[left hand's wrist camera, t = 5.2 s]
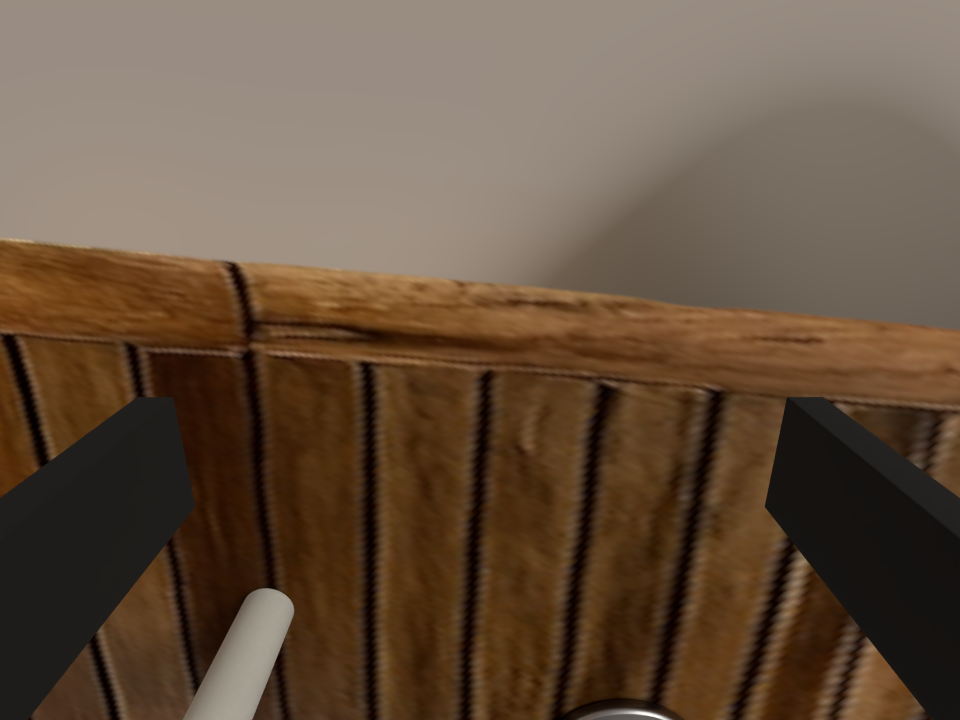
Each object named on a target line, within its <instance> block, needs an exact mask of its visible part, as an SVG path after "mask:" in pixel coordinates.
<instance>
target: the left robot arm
mask: <svg viewBox="0 0 960 720" xmlns="http://www.w3.org/2000/svg"><path fill="white" fill-rule="evenodd" d="M194 508H195V503H194V498H193V493H192V489H191V484H190V479H189V474H188V469H187V464H186V459H185V454H184V449H183V444H182V440H181V435H180V430H179V425H178V420H177V415H176V410H175V405H174V400H173V397H137V398H136V399H134V400H133V401H131V402H130V403H129V404H127V405H126V406H125V407H123V408H122V409H121V410H119V411H118V412H117V413H115V414H114V415H112V416H111V417H110V418H108V419H107V420H106V421H104V422H103V423H102V424H100V425H99V426H98V427H96V428H95V429H93V430H92V431H91V432H89V433H88V434H87V435H85V436H84V437H83V438H81V439H80V440H78V441H77V442H76V443H74V444H73V445H72V446H70V447H69V448H68V449H66V450H65V451H64V452H62V453H61V454H59V455H58V456H57V457H55V458H54V459H53V460H51V461H50V462H49V463H47V464H46V465H45V466H43V467H42V468H40V469H39V470H38V471H36V472H35V473H34V474H32V475H31V476H30V477H28V478H27V479H26V480H24V481H23V482H21V483H20V484H19V485H17V486H16V487H15V488H13V489H12V490H11V491H9V492H8V493H6V494H5V495H4V496H2V497H1V498H0V720H28V719H29V717H30V716H31V715H32V713H33V712H34V711H35V710H36V708H37V707H38V706H39V705H40V703H41V702H42V701H43V699H44V698H45V697H46V696H47V694H48V693H49V692H50V691H51V689H52V688H53V687H54V686H55V684H56V683H57V682H58V680H59V679H60V678H61V677H62V675H63V674H64V673H65V672H66V670H67V669H68V668H69V666H70V665H71V664H72V663H73V661H74V660H75V659H76V658H77V656H78V655H79V654H80V652H81V651H82V650H83V649H84V647H85V646H86V645H87V644H88V642H89V641H90V640H91V639H92V637H93V636H94V635H95V633H96V632H97V631H98V630H99V628H100V627H101V626H102V625H103V623H104V622H105V621H106V619H107V618H108V617H109V616H110V614H111V613H112V612H113V611H114V609H115V608H116V607H117V605H118V604H119V603H120V602H121V600H122V599H123V598H124V597H125V595H126V594H127V593H128V592H129V590H130V589H131V588H132V586H133V585H134V584H135V583H136V581H137V580H138V579H139V578H140V576H141V575H142V574H143V572H144V571H145V570H146V569H147V567H148V566H149V565H150V564H151V562H152V561H153V560H154V558H155V557H156V556H157V555H158V553H159V552H160V551H161V550H162V548H163V547H164V546H165V544H166V543H167V542H168V541H169V539H170V538H171V537H172V536H173V534H174V533H175V532H176V531H177V529H178V528H179V527H180V525H181V524H182V523H183V522H184V520H185V519H186V518H187V517H188V515H189V514H190V513H191V511H192V510H193V509H194ZM765 508H766V509H767V510H768V511H769V513H770V514H771V515H772V517H773V518H774V519H775V520H776V522H777V523H778V524H779V525H780V527H781V528H782V529H783V531H784V532H785V533H786V534H787V536H788V537H789V538H790V539H791V541H792V542H793V543H794V544H795V546H796V547H797V548H798V550H799V551H800V552H801V553H802V555H803V556H804V557H805V558H806V560H807V561H808V562H809V564H810V565H811V566H812V567H813V569H814V570H815V571H816V572H817V574H818V575H819V576H820V578H821V579H822V580H823V581H824V583H825V584H826V585H827V586H828V588H829V589H830V590H831V592H832V593H833V594H834V595H835V597H836V598H837V599H838V600H839V602H840V603H841V604H842V605H843V607H844V608H845V609H846V611H847V612H848V613H849V614H850V616H851V617H852V618H853V619H854V621H855V622H856V623H857V625H858V626H859V627H860V628H861V630H862V631H863V632H864V633H865V635H866V636H867V637H868V639H869V640H870V641H871V642H872V644H873V645H874V646H875V647H876V649H877V650H878V651H879V652H880V654H881V655H882V656H883V658H884V659H885V660H886V661H887V663H888V664H889V665H890V666H891V668H892V669H893V670H894V672H895V673H896V674H897V675H898V677H899V678H900V679H901V680H902V682H903V683H904V684H905V686H906V687H907V688H908V689H909V691H910V692H911V693H912V694H913V696H914V697H915V698H916V699H917V701H918V702H919V703H920V705H921V706H922V707H923V708H924V710H925V711H926V712H927V713H928V715H929V716H930V717H931V719H932V720H960V498H959V497H958V496H956V495H955V494H954V493H952V492H951V491H949V490H948V489H947V488H945V487H944V486H943V485H941V484H940V483H939V482H937V481H936V480H934V479H933V478H932V477H930V476H929V475H928V474H926V473H925V472H924V471H922V470H921V469H920V468H918V467H917V466H915V465H914V464H913V463H911V462H910V461H909V460H907V459H906V458H905V457H903V456H902V455H901V454H899V453H898V452H896V451H895V450H894V449H892V448H891V447H890V446H888V445H887V444H886V443H884V442H883V441H882V440H880V439H879V438H877V437H876V436H875V435H873V434H872V433H871V432H869V431H868V430H867V429H865V428H864V427H862V426H861V425H860V424H858V423H857V422H856V421H854V420H853V419H852V418H850V417H849V416H848V415H846V414H845V413H843V412H842V411H841V410H839V409H838V408H837V407H835V406H834V405H833V404H831V403H830V402H829V401H827V400H826V399H824V398H823V397H787V400H786V405H785V410H784V415H783V420H782V425H781V430H780V435H779V440H778V444H777V449H776V454H775V459H774V464H773V469H772V474H771V479H770V484H769V489H768V493H767V498H766V503H765ZM561 720H683V719H682V718H681V717H680V716H678V715H677V714H676V713H674V712H672V711H671V710H669V709H667V708H665V707H663V706H660V705H657V704H654V703H650V702H646V701H640V700H628V699H621V700H609V701H603V702H598V703H594V704H591V705H588V706H585V707H583V708H580V709H578V710H576V711H574V712H572V713H570V714H569V715H567V716H565V717H564V718H563V719H561Z"/></svg>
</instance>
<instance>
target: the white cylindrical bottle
mask: <svg viewBox="0 0 960 720" xmlns="http://www.w3.org/2000/svg"><path fill="white" fill-rule="evenodd" d="M293 615H294V607H293V604H292V602H291V600H290V599H289V598H288V597H287V596H286V595H285V594H283V593H282V592H280V591H277V590H274V589H269V588H264V589H258V590H255V591H253V592H251V593H250V594H249V595H248V596H247V597H246V599H245V600H244V602H243V604H242V606H241V608H240V610H239V612H238V614H237V616H236V618H235V620H234V622H233V624H232V625H231V627H230V629H229V631H228V633H227V635H226V637H225V639H224V641H223V643H222V645H221V647H220V649H219V651H218V653H217V654H216V656H215V658H214V660H213V662H212V664H211V666H210V668H209V670H208V672H207V674H206V676H205V678H204V680H203V682H202V683H201V685H200V687H199V689H198V691H197V693H196V695H195V697H194V699H193V701H192V703H191V705H190V707H189V709H188V711H187V712H186V714H185V716H184V718H183V720H252V719H253V716H254V714H255V711H256V708H257V706H258V703H259V701H260V698H261V696H262V693H263V691H264V688H265V686H266V683H267V681H268V678H269V676H270V673H271V671H272V668H273V666H274V663H275V661H276V658H277V656H278V653H279V650H280V648H281V645H282V643H283V640H284V638H285V635H286V633H287V630H288V628H289V625H290V623H291V620H292V618H293Z"/></svg>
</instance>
